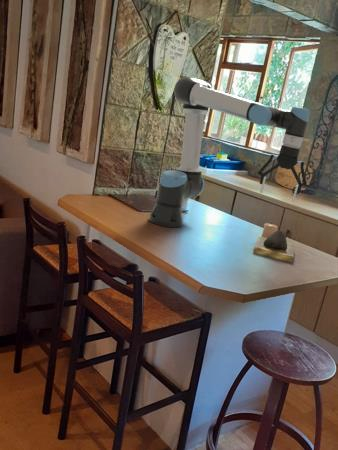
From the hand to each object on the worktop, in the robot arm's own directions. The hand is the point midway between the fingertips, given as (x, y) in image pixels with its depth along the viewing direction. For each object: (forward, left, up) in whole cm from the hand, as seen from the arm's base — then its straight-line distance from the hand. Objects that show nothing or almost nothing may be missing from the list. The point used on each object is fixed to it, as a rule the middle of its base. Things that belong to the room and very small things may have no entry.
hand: (277, 196), depth 186 cm
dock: (+4, -2, -23) cm, 24 cm away
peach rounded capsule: (0, +15, -23) cm, 28 cm away
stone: (+4, -3, -21) cm, 22 cm away
